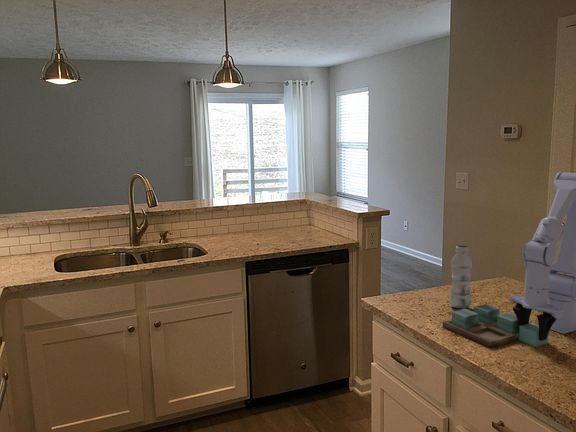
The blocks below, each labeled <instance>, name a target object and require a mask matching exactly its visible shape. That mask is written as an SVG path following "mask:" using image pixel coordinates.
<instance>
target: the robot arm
mask: <svg viewBox="0 0 576 432" xmlns="http://www.w3.org/2000/svg"><path fill="white" fill-rule="evenodd" d="M553 190H554V191H553V193H554V195H555V196H554V197H553V201H552V204H551V206H550V209H549V212H548V215H547V217H544V218H542V219H540V222H539V224H538V227H537V229H536V231H535V233H534V234H533V237H532V239H531V240H529V241H527V242H526V243H525V244H524V246H523V248H522V249H523V250H522V252H521V256H522V260H523V268H524V269H525V275H524V277H525V278H524V290H523V292H524V293H523V296H521V295H516V294H512V295H509V304H515V305H514V306H513V307H512V311H513V314H515V315H516V317H517V320H518V323H519V327H520V326H522V325H526V324H530V317H531V314H532V311H536V312H540V313H541V314H537V315H536V318H537V322H538V325H539V340H540V341H543V340H546V339H547V336H548V337H549V335H548V333H550V330H552V331H554V332H557V333H560V334H567V333H571V332H575V331H576V172H567V171H566V172H564V171H559V172H557V174H556V175H555V177H554V179H553ZM564 219H565V221H564V224H563V223H562V222H563V220H564ZM560 237H561V240H560V244H559V249H558V245H557V244H558V242H559V239H560ZM557 250H558V254H557ZM556 257H557V258H556ZM555 260H556V261H555Z"/></svg>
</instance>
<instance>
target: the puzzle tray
mask: <svg viewBox="0 0 576 432" xmlns="http://www.w3.org/2000/svg"><path fill="white" fill-rule="evenodd" d="M500 311H501V310H500V308H498V307H495V306H492V305H491V304H488V303H484V304H479V305H475V306H473V311H472V310H470V309H468V308H466V309H457V310H454V311H451V319H447V320H443V321H442V328H445V329H447V330H449V331H451V332H453V333H455V334H458V335H460V336H463V337H465V338H467V339H469V340H470V341H473V342H475V343H478V344H480V345H482V346H484V347H485V348H486V347H487V348H489V349H492V348H495V347H499V346H502V345H505V344H509V343H513V342H515V341H516V342H517V341H520V340H519V330H520V327H519V323H518V320H517V317H516V315H515V313H514V312H513V313H512V312H507V313H503V314H500Z"/></svg>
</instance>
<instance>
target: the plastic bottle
mask: <svg viewBox="0 0 576 432" xmlns="http://www.w3.org/2000/svg"><path fill="white" fill-rule="evenodd" d="M472 269H473V261H472V259H471V257H470V256H469V246H468V245H463V244H460V245H456V246H455V254H454V255H453V256H452V258H451V260H450V270H451V272H450V273H451V285H450V286H451V288H450V293H449V297H448V300H449V305H450V306H451V307H452V308H455V309H458V310H461V309H469V308H470V307H471V304H472V296H471V274H472Z"/></svg>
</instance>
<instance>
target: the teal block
mask: <svg viewBox="0 0 576 432" xmlns="http://www.w3.org/2000/svg"><path fill="white" fill-rule="evenodd" d="M549 333H550V332H549ZM549 333H548V336H547V339H546V340H543V341H540V340H539V324H537V323H534V322H529V324H526V325H522V326H520V330H519V340H518V341H520V342H522V341H523V343H525V344H528V345H530V346H532V347H535V348H536V347H538V346H539V347H540V346H542V345H545V344H549Z"/></svg>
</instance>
